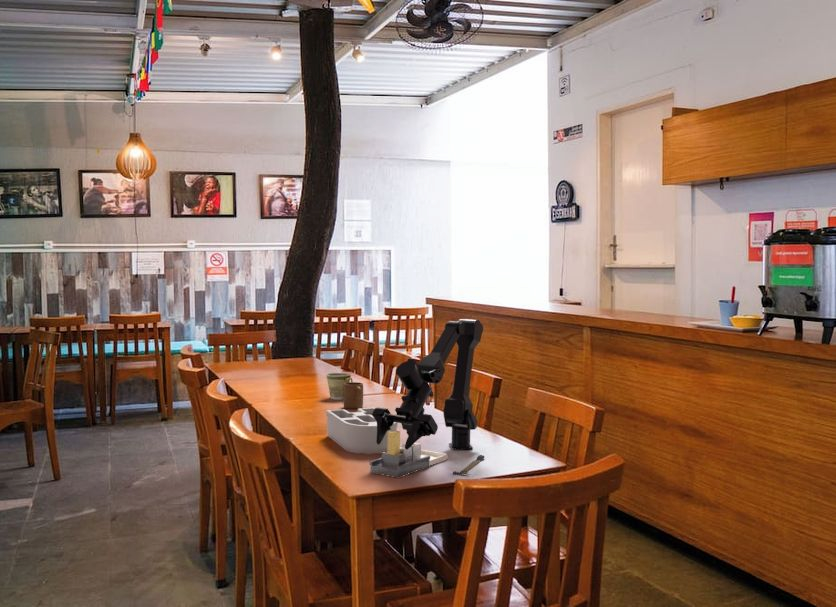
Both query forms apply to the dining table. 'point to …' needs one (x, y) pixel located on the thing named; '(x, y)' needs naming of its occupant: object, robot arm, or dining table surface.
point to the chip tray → (434, 456)
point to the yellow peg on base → (393, 451)
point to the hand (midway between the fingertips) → (391, 446)
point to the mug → (353, 395)
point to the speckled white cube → (415, 451)
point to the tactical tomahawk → (469, 466)
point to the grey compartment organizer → (356, 431)
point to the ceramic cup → (337, 384)
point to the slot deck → (399, 467)
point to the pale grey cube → (406, 453)
